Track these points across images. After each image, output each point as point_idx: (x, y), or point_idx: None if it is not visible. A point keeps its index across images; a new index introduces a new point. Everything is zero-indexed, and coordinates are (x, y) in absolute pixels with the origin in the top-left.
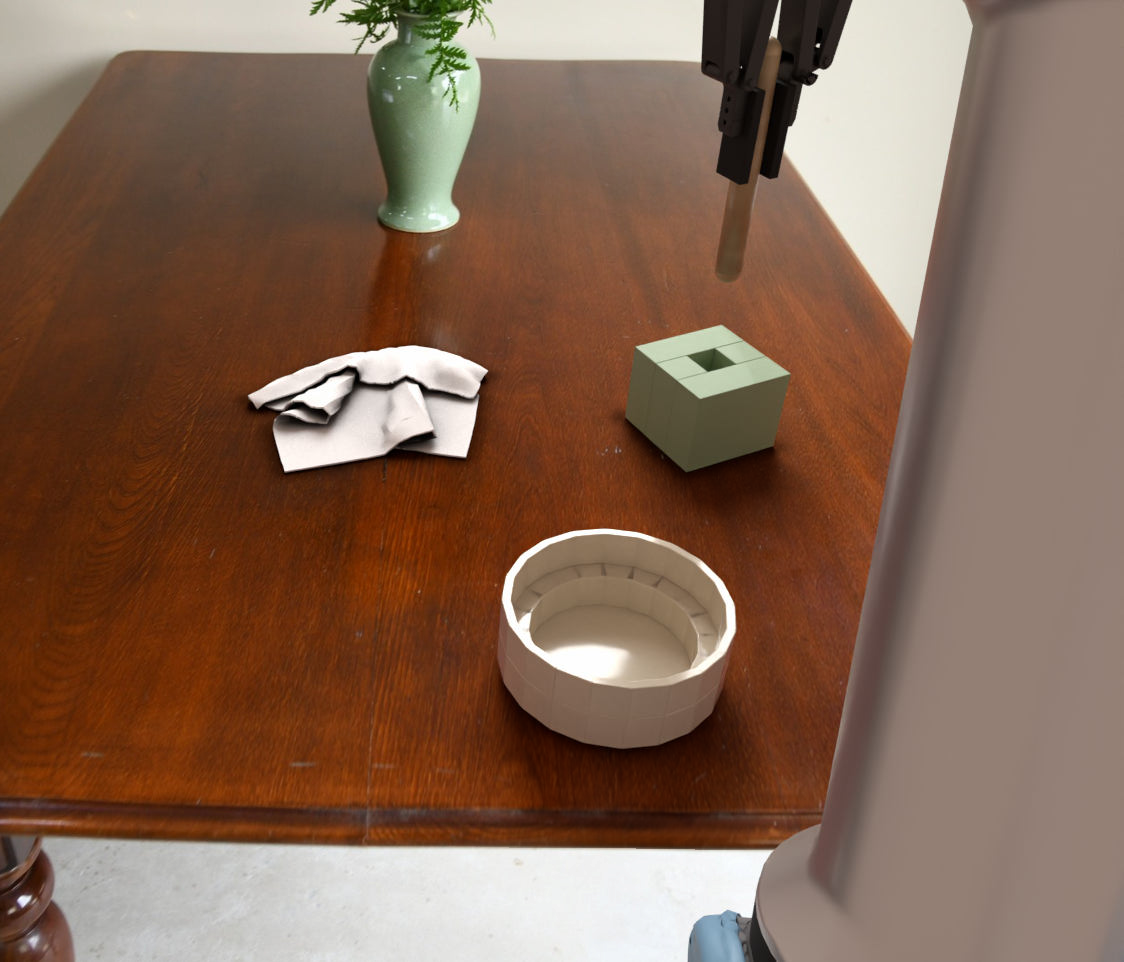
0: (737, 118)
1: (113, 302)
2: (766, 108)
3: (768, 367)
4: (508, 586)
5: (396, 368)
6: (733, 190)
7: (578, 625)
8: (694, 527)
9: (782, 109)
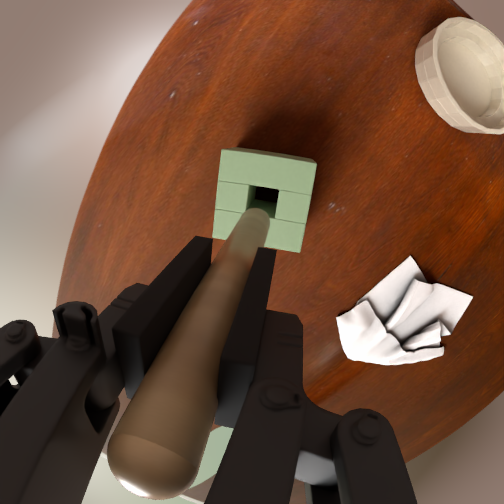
0: (287, 338)
1: (410, 430)
2: (197, 329)
3: (230, 166)
4: None
5: (380, 342)
6: None
7: (461, 103)
8: (350, 115)
9: (164, 305)
